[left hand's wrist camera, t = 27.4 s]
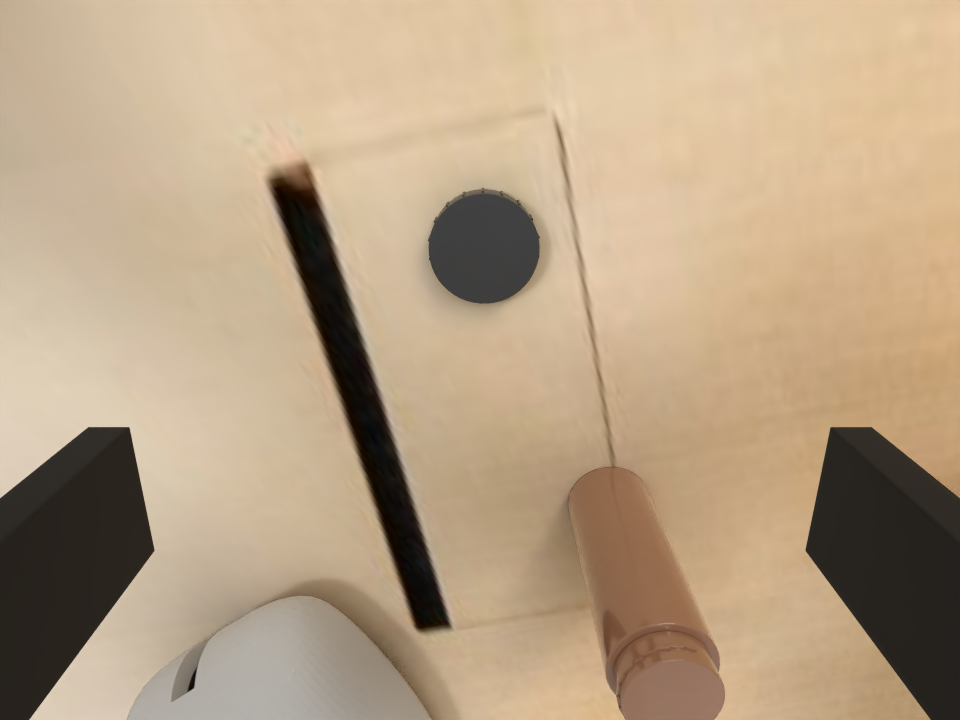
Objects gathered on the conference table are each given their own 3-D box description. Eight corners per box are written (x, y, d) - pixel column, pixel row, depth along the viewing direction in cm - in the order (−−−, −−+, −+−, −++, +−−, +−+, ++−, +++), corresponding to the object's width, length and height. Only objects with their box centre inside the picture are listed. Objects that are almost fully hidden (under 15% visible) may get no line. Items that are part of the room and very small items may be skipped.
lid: (546, 284, 38) (549, 292, 36) (442, 304, 38) (440, 313, 37) (527, 178, 36) (530, 181, 34) (419, 200, 36) (415, 205, 35)
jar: (561, 475, 42) (603, 665, 28) (642, 459, 42) (727, 643, 27) (575, 542, 44) (622, 753, 30) (653, 527, 44) (739, 733, 29)
